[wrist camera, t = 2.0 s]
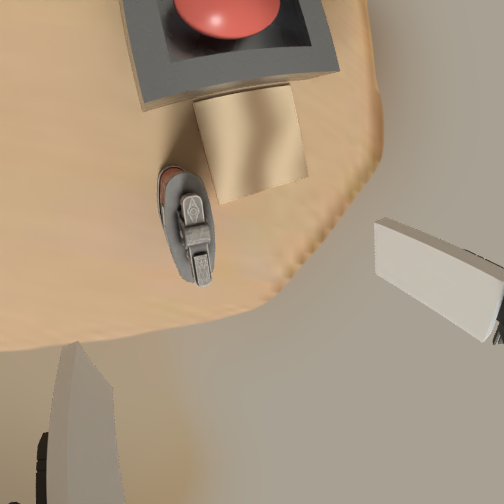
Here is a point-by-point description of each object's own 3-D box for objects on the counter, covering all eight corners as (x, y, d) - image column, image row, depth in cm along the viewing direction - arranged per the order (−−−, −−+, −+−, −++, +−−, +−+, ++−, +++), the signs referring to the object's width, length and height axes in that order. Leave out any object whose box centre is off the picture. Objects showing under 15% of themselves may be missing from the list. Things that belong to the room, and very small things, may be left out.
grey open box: (142, 112, 22) (144, 103, 17) (114, -29, 14) (114, -58, 9) (307, 79, 26) (339, 71, 21) (271, -43, 18) (295, -65, 14)
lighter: (152, 168, 24) (160, 181, 15) (188, 162, 25) (218, 172, 16) (165, 252, 27) (182, 304, 18) (199, 244, 28) (231, 292, 20)
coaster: (218, 204, 27) (219, 204, 27) (192, 103, 23) (193, 102, 23) (306, 176, 30) (308, 176, 30) (288, 85, 26) (290, 85, 25)
